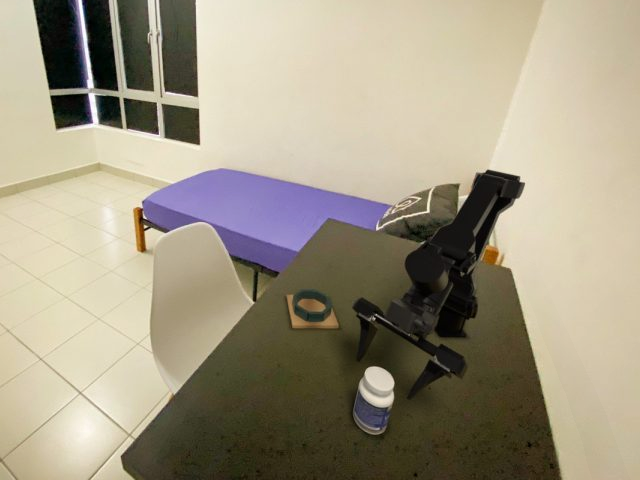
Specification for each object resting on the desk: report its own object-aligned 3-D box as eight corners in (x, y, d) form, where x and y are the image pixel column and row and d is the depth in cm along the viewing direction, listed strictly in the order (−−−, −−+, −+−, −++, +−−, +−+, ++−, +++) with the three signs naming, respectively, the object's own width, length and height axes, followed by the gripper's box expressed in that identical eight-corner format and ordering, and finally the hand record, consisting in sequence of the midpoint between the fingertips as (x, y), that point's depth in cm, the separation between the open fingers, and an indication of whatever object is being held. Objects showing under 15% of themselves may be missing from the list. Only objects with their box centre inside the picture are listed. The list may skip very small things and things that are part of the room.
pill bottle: (389, 440, 55) (401, 397, 52) (353, 431, 56) (363, 389, 53) (383, 407, 60) (394, 366, 57) (351, 400, 61) (359, 360, 58)
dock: (327, 298, 89) (328, 287, 87) (338, 328, 78) (340, 316, 77) (286, 297, 88) (287, 286, 87) (292, 328, 78) (293, 316, 77)
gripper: (365, 259, 60) (320, 336, 57) (483, 316, 47) (432, 420, 44) (380, 280, 68) (340, 348, 65) (484, 334, 55) (441, 423, 52)
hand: (381, 379), depth 56 cm, fingers open, 9 cm apart
